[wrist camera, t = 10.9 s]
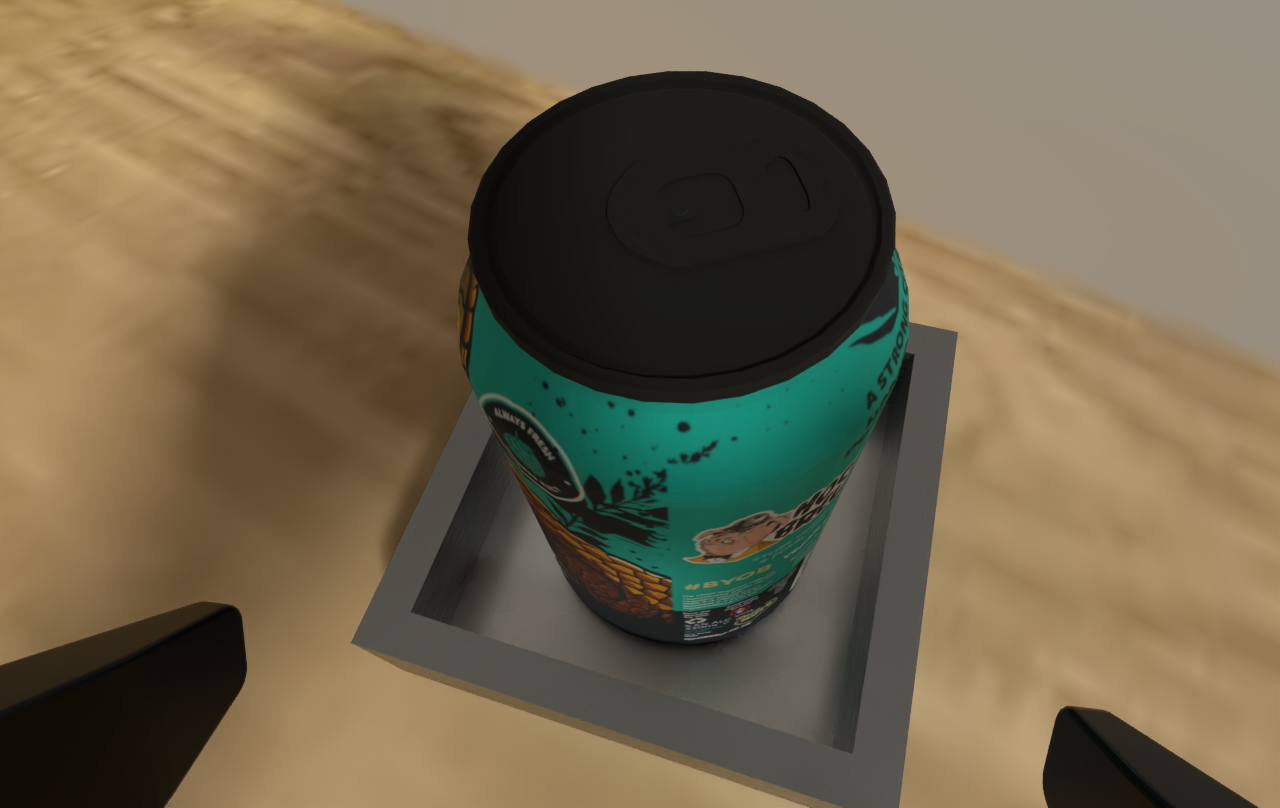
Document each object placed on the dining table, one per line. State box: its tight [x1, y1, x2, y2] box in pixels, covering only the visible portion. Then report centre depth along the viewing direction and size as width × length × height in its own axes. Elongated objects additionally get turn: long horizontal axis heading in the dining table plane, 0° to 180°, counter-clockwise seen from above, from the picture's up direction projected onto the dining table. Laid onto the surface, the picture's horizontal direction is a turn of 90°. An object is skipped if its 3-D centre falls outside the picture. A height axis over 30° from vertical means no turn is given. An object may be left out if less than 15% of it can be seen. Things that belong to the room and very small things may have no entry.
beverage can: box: [456, 71, 909, 645], centre depth 15 cm, size 7×7×12 cm
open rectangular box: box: [351, 322, 958, 808], centre depth 20 cm, size 12×12×4 cm
